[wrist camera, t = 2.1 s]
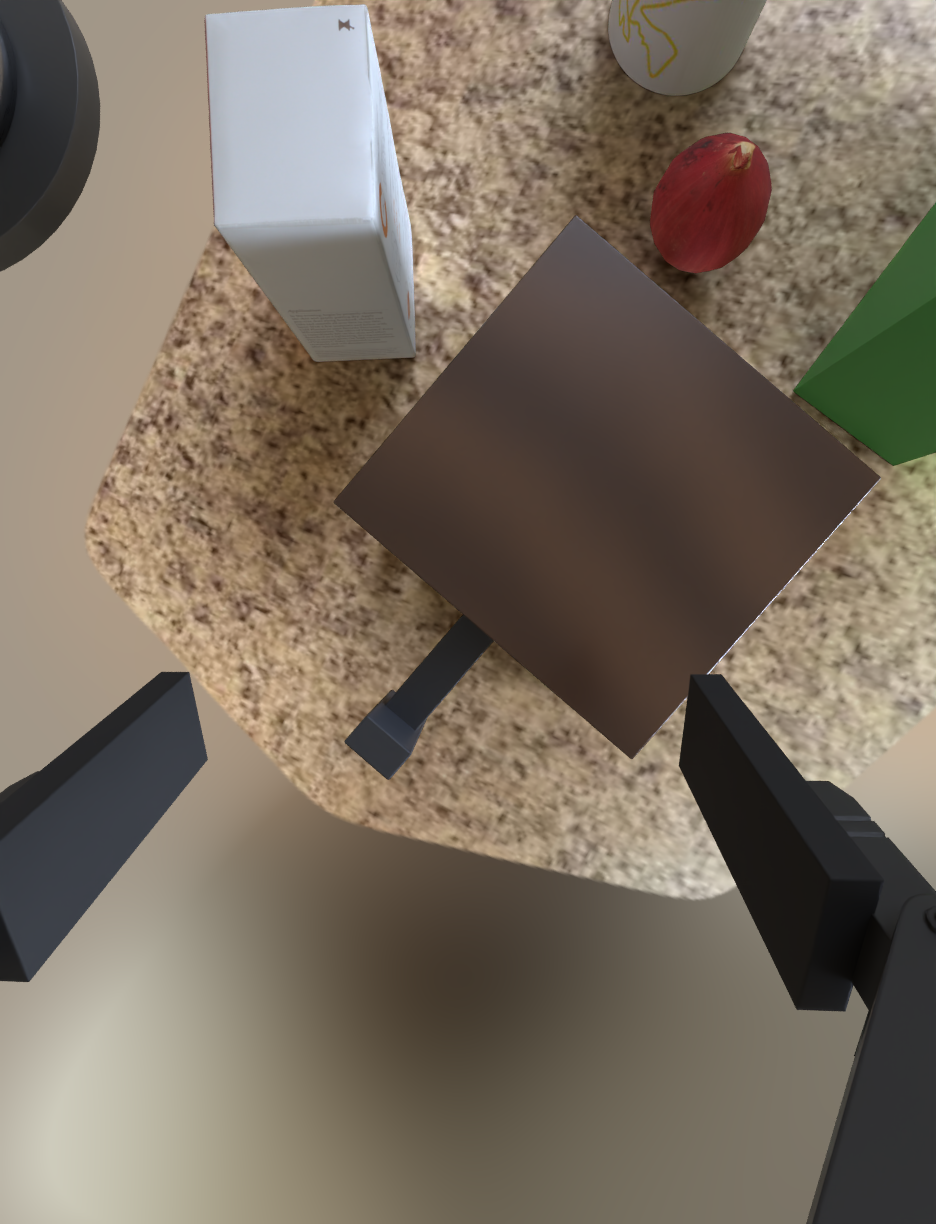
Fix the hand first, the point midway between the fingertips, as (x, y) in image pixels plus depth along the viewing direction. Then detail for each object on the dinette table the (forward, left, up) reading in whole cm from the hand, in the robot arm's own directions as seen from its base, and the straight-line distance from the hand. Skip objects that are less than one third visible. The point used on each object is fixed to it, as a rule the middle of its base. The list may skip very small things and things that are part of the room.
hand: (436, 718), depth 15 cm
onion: (-27, +4, -20) cm, 34 cm away
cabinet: (-9, +3, -20) cm, 22 cm away
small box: (-18, -13, -20) cm, 30 cm away
